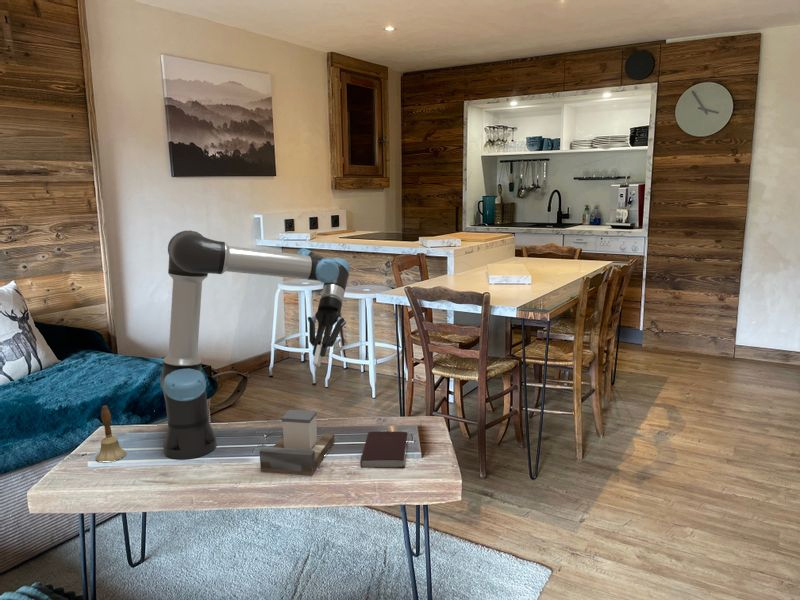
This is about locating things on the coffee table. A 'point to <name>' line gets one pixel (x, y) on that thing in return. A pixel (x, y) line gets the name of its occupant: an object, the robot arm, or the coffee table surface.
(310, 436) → the beige upright block
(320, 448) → the dark open tray
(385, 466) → the book
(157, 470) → the coffee table surface
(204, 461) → the coffee table surface
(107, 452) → the hand bell
